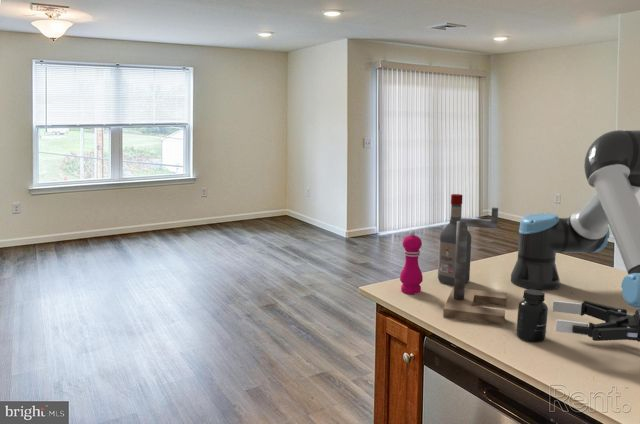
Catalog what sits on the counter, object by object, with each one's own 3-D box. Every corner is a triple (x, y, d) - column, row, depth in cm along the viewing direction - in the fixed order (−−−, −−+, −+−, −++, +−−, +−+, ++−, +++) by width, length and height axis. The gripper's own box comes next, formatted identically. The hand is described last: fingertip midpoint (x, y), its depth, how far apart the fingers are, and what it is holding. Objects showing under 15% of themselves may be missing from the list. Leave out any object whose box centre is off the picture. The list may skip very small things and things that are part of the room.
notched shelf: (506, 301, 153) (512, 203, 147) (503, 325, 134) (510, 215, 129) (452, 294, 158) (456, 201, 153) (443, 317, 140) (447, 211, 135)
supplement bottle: (543, 345, 122) (546, 298, 120) (513, 339, 126) (516, 293, 123) (547, 335, 128) (550, 290, 126) (519, 330, 131) (522, 285, 129)
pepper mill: (422, 295, 158) (424, 233, 155) (399, 294, 159) (400, 232, 156) (422, 288, 165) (424, 228, 162) (400, 287, 166) (401, 228, 163)
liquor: (458, 287, 166) (461, 197, 161) (434, 281, 172) (437, 194, 167) (472, 281, 172) (476, 194, 167) (448, 275, 179) (452, 192, 173)
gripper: (668, 366, 105) (556, 350, 112) (642, 322, 127) (550, 312, 135) (672, 332, 103) (559, 318, 111) (645, 294, 126) (552, 285, 134)
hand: (554, 315), depth 123 cm, fingers open, 13 cm apart
